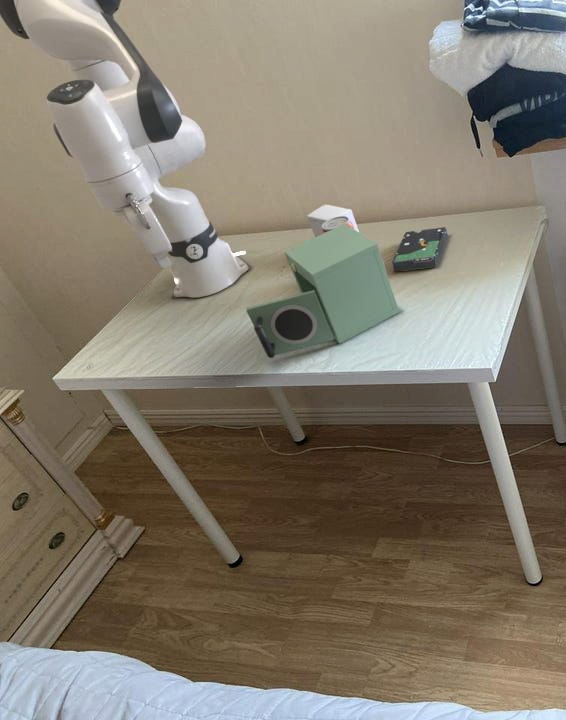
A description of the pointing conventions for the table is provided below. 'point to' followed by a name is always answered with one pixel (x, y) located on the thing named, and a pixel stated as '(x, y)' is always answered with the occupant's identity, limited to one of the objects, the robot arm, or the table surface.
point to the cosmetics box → (328, 217)
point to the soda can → (336, 223)
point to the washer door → (290, 323)
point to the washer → (344, 280)
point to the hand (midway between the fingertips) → (163, 262)
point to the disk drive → (420, 249)
